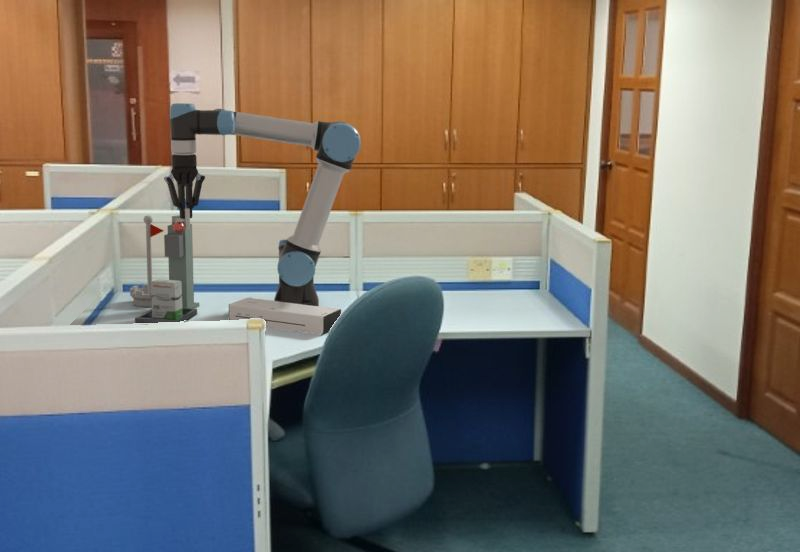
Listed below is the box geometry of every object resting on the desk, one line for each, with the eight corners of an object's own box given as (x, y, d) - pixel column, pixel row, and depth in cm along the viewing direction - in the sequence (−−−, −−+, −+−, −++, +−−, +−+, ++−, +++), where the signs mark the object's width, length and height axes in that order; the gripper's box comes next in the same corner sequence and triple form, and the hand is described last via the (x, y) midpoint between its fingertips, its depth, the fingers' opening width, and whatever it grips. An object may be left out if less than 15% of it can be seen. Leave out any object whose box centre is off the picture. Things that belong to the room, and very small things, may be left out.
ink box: (183, 316, 295) (182, 280, 292) (175, 320, 290) (174, 283, 288) (159, 314, 297) (158, 278, 295) (151, 317, 293) (149, 280, 290)
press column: (199, 306, 311) (197, 223, 306) (186, 313, 301) (184, 228, 295) (174, 304, 313) (171, 222, 307) (160, 312, 302) (158, 227, 296)
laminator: (228, 323, 291) (228, 304, 290) (250, 315, 302) (250, 296, 301) (324, 336, 278) (324, 316, 277) (342, 327, 289) (342, 308, 288)
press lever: (172, 224, 304) (171, 213, 304) (187, 224, 306) (187, 213, 305) (170, 234, 285) (169, 222, 284) (186, 234, 286) (186, 222, 285)
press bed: (197, 314, 300) (197, 308, 300) (177, 326, 285) (177, 320, 284) (156, 311, 302) (156, 306, 302) (135, 323, 287) (134, 318, 286)
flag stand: (126, 307, 307) (123, 217, 302) (135, 298, 320) (132, 212, 314) (166, 307, 308) (163, 218, 303) (173, 299, 321) (171, 213, 315)
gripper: (198, 152, 294) (200, 225, 299) (159, 153, 286) (162, 228, 291) (208, 153, 288) (210, 228, 293) (168, 155, 280) (171, 232, 285)
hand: (186, 228), depth 292 cm, fingers closed
